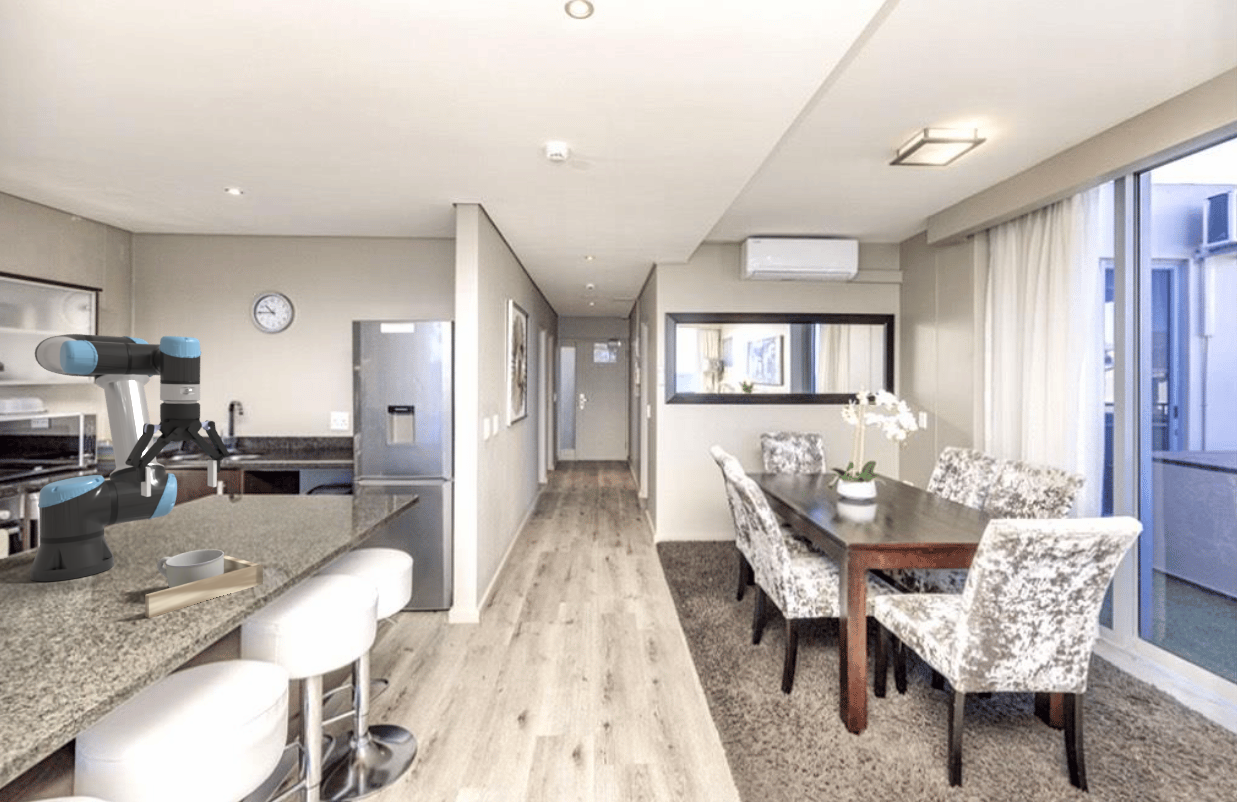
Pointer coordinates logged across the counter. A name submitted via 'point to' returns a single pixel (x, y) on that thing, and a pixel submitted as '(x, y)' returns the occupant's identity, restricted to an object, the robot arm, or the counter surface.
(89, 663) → the counter surface
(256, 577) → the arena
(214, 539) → the counter surface
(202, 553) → the teacup
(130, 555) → the counter surface
